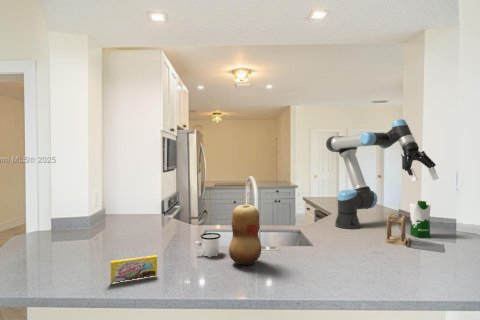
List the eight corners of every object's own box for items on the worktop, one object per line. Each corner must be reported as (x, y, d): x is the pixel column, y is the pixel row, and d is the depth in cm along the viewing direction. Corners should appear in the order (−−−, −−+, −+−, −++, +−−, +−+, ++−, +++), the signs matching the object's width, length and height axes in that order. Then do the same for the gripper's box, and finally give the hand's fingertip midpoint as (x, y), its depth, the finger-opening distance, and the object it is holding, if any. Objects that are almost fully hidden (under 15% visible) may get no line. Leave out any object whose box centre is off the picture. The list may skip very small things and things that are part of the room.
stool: (385, 242, 148) (385, 216, 148) (387, 238, 155) (387, 213, 155) (405, 245, 143) (405, 218, 143) (406, 241, 150) (406, 215, 150)
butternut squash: (238, 272, 111) (237, 209, 111) (224, 261, 123) (223, 204, 123) (267, 266, 118) (267, 206, 117) (251, 256, 129) (251, 201, 129)
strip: (406, 247, 140) (406, 244, 140) (408, 240, 152) (408, 238, 152) (408, 247, 140) (408, 245, 140) (410, 240, 152) (410, 238, 152)
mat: (409, 247, 140) (409, 247, 140) (411, 240, 151) (411, 240, 151) (444, 252, 132) (444, 252, 132) (443, 244, 143) (443, 244, 143)
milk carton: (415, 238, 156) (415, 202, 156) (407, 233, 165) (407, 199, 165) (432, 238, 155) (432, 202, 155) (423, 234, 164) (423, 199, 164)
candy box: (110, 285, 101) (110, 262, 101) (110, 283, 103) (110, 260, 103) (157, 277, 108) (157, 256, 107) (156, 275, 109) (156, 254, 109)
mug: (217, 250, 139) (217, 231, 139) (223, 256, 130) (223, 236, 130) (193, 253, 135) (193, 234, 135) (197, 259, 126) (197, 239, 126)
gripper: (395, 141, 150) (411, 178, 140) (431, 140, 156) (450, 175, 147) (385, 148, 156) (401, 184, 147) (421, 147, 163) (438, 181, 153)
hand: (425, 180), depth 147 cm, fingers open, 13 cm apart
